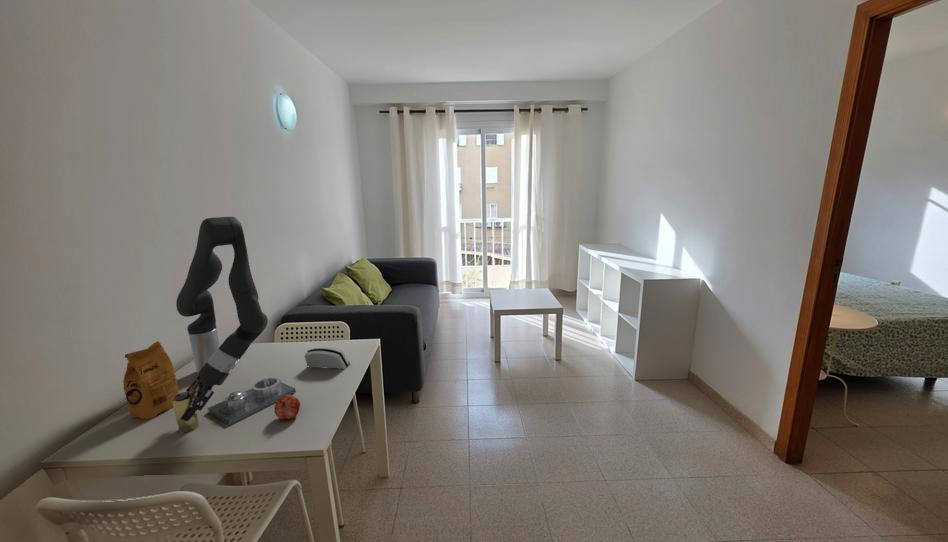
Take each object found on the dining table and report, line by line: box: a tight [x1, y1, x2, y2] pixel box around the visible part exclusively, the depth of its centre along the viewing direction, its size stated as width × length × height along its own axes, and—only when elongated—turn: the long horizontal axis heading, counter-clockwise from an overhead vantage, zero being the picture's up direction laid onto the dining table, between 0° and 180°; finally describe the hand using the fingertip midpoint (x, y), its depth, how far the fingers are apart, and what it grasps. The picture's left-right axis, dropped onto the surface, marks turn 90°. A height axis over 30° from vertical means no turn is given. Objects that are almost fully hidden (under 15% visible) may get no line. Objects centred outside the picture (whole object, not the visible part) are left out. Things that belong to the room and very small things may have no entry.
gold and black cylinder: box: [172, 391, 200, 433], centre depth 117 cm, size 5×5×11 cm
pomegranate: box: [274, 394, 301, 420], centre depth 121 cm, size 7×7×10 cm
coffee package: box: [122, 341, 180, 420], centre depth 127 cm, size 10×12×22 cm
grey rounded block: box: [304, 346, 351, 370], centre depth 154 cm, size 17×5×10 cm, turn 79°
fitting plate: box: [207, 376, 297, 426], centre depth 131 cm, size 14×22×6 cm, turn 147°
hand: (182, 414), depth 117 cm, fingers open, 8 cm apart
